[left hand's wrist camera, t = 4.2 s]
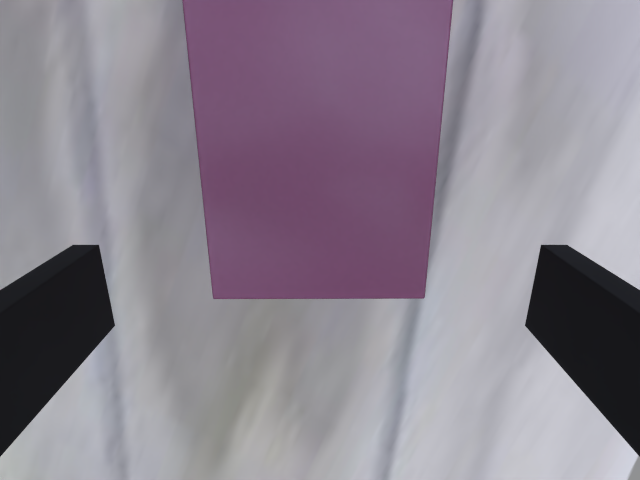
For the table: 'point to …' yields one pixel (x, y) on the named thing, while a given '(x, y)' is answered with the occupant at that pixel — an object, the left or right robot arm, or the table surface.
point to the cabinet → (318, 143)
